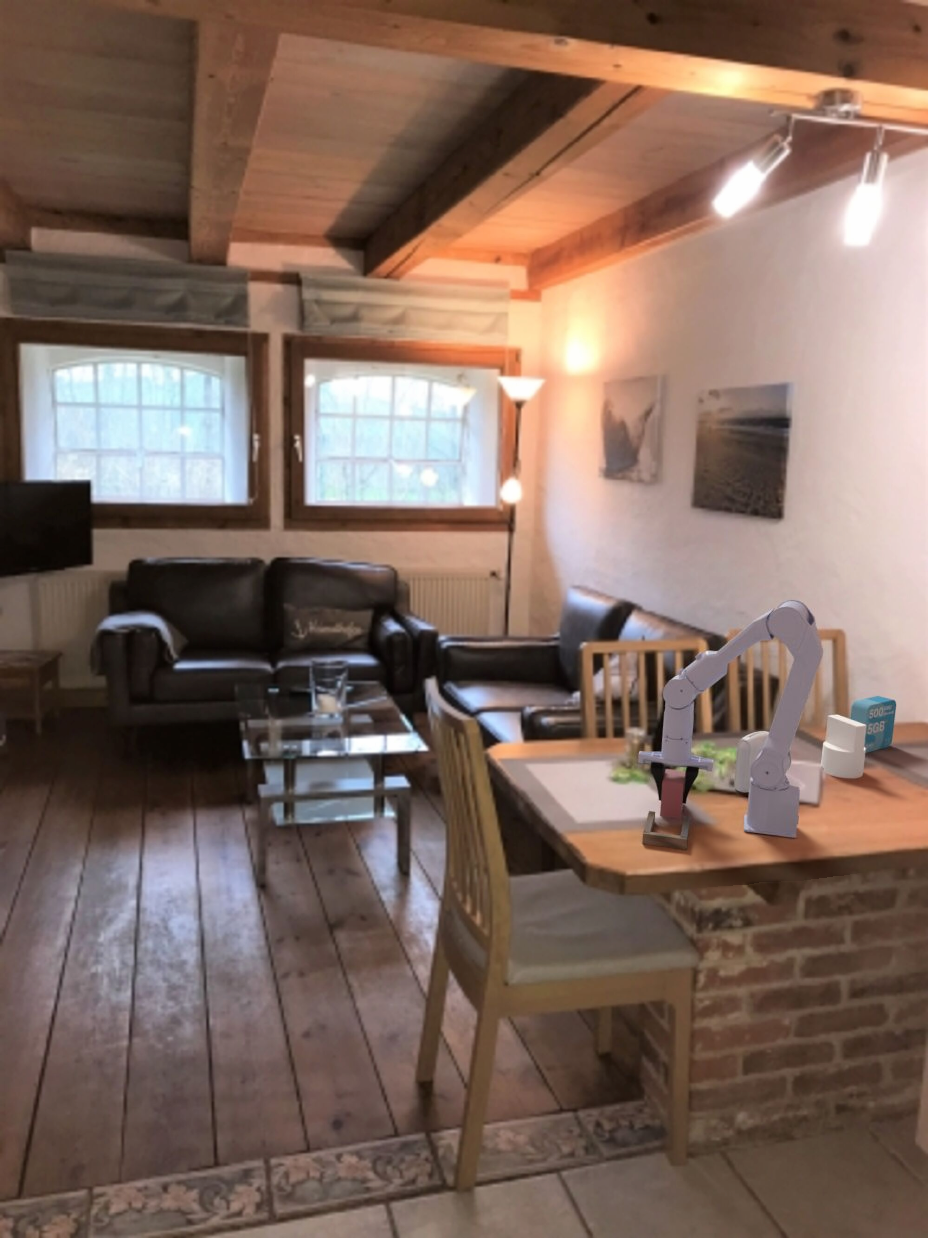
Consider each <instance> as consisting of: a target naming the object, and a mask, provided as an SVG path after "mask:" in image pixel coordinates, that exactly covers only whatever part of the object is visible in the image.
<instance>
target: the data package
mask: <svg viewBox="0 0 928 1238" xmlns="http://www.w3.org/2000/svg"><path fill="white" fill-rule="evenodd" d="M896 709H897V702H896V700H895V699H891V698H889V697H888V698H887V697H883V696H880V695H876V696H875V695H874V696H872V697H867V698H862V699H857V700H855V701H853V702H852V705H851V708H850V716H849V719H851V720H854V721H857V722H859V723H862V724H865V725H867V726H866V735H865V744H864V747H865V748H866V751H865V754H868V753H871V752H874V751H878V750H882V749H885V748H888V747H890V746H891V745H892V742H893V735H894V727H895V720H896Z"/></svg>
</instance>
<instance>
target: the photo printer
mask: <svg viewBox="0 0 928 1238" xmlns="http://www.w3.org/2000/svg"><path fill="white" fill-rule="evenodd" d="M768 734H769V731H764V730H761V731H755V732H752V733H749V734H747V735H745V736H743V737H742V738H740V740H738V742H737V749H736V757H735V758H736V759H735V768H734V769H735V770H734V778H733V779H734V780H733V781H734V782H733V788H734V789H735V790H736V791H738V792H739V793H743V794H744V793H749V787H750V778H751V773H750V769H751V765H752V763H753V762H754V761H755V760H756V758H757V756H758V753H759V751H760V750H761V748H762V747H764V744H765V742H766V739H767V737H768Z"/></svg>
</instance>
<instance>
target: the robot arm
mask: <svg viewBox="0 0 928 1238" xmlns="http://www.w3.org/2000/svg"><path fill="white" fill-rule="evenodd" d="M774 638H776V639H777V640H778V641H780V643H782V644H784V645H785V646H786V647H787V650H788V651H789V652H790V654H791V656H792V657H793V662H792V664H791V668H790V670H789V673H788V677H787V679H786V682H785V685H784V688H783V691H782V694H781V697H780V699H779V703H778V705H777V708H776V712H775V714H774V717H773V720H772V723H771V726H770V728H769V731H768V732H769V734H768V737H767V739H766V742H765V744H764V747H762V748H761V750H760V751H759V753H758V756H757V758H756V760H755V761H754V762H753V763H752V765H751V769H750V773H751V778H750V787H749V792H748V799H747V800H748V801H747V808H746V809H747V811H746V814H744V815H743V816H744V817H743V831H744V832H748V833H754V834H755V833H757V834H763V835H769V836H779V837H785V838H793V839H795V838H797V829H798V828H797V827H798V825H799V818H800V816H799V808H800V794H801V793H800V791H801V790H800V787H799V786H796V785H792V784H790V781H789V780H788V779H789V778H788V777H787V775H786V774H787V772H788V770H789V769H791V768H790V767H791V766H792V756H791V748H792V747H793V744H794V738H795V735H796V733H797V730H798V728H799V724H800V722H801V718H802V716H803V713H804V711H805V708H806V704H807V701H808V699H809V695H810V693H811V690H812V687H813V685H814V681H815V679H816V676H817V673H818V671H819V668H820V665H821V661H822V659H823V655H824V648H823V646H822V642H821V637H820V635H819V632H818V628H817V622H816V617H815V616H814V614H813V613H812V612H811V610H810V609H809V608H808V606H807V605H806V604H805V603H804V602H802V601H800V600H798V599H787V600H784V601H782V602H781V603H780V604H779V605H778V606H777V608H776V609H775V608H772V609H771V610H768V611H767V612H766V613H764V614H762V615H759V616H758V617H757V618H755V619H754V620H753V621H752V622H751V623H750V624H748V625H747V626H746V627H745V628H744V629H742V630H741V631H740V632H739V633H737V635H735V636H734V637H732V639H730V640H729V641H728V642H727V643H726V644H724V646H722V647H721V648H720V649H719V650H716V651H715V650H706V651H705V652H703V651H700V652H699V653H698V654H697V655H695V657H694V658H695V660H694V661H692V662H691V663H690V664H689V665H688V666H686V667H685V668H683V667H682V668H680V669H679V670H678V671H677V674H678V675H675V676H674V677H672V678H671V679H669V680H668V682H667V683H666V684H665V686H664V687H663V691H662V696H663V697H662V698H663V700H664V701H665V705H664V707H665V708H664V712H663V724H662V725H663V727H662V741H661V751H641V750H639V752H638V757H637V758H638V759H637V763H638V764H645V763H646V764H650V772H651V775H652V777H653V780H654V782H655V785H656V790H657V794H658V795H657V796H658V801H660V802H661V795H662V782H663V778H664V774H665V769H666V767H665V766H670V767H671V766H672V767H677V768H678V767H679V768H685V771H686V772H685V787H684V794H683V801H682V803H683V805H686V804H687V799H688V796H689V794H690V790H691V788H692V786H693V785H694V783H695V781H696V779H697V778H698V776H699V773H700V771H699V770H705V771H706V772H711V773H712V772H713V771H714V770H713V768H714V759H712V758H706V757H701V756H697V755H693V754H692V744H693V742H692V741H693V732H694V731H693V729H694V718H695V716H694V715H695V714H694V710H695V709H694V706H695V700H696V698H697V697H698V695H699V694H703V693H704V692H705V691H707V690H708V689H710V688H711V687H712V686H713V685H715V684H716V683H717V682H718V681H719V680H721V679H722V678H724V677H725V676H726V675H727V673H728V665H729V663H731V662H732V661H734V660H735V659H736V658H738V657H739V656H740V655H742V654H743V653H745V652H746V651H747V650H748V649H750V648H751V647H753V646H754V645H755V644H756V643H758V642H760V641H761V642H764V641H767V642H768V641H772V640H774Z"/></svg>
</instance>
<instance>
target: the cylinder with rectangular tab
mask: <svg viewBox="0 0 928 1238" xmlns="http://www.w3.org/2000/svg"><path fill="white" fill-rule="evenodd" d="M866 726H867V725H865V724H862V723H859V722H857V721H854V720H851V719H850V718H849V717H846V716H842V715H840V714H831V715H828V716H827V723H826V730H825V731H826V733H825V741H823V743H822V752H821V753H822V754H821V762H820V767H821V766H822V767H823V768H824V771H825V773H824V774H826V775H829V776H832V777H834V778H835V777H837V778H840V779H841V778H842V779H857V778H862V776H863V775H864V766H865V757H866V753H865V751H866V748H865V747H864V744H865V735H866Z"/></svg>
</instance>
